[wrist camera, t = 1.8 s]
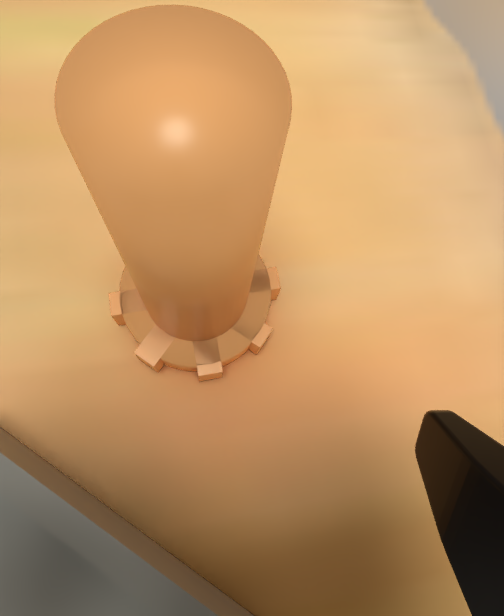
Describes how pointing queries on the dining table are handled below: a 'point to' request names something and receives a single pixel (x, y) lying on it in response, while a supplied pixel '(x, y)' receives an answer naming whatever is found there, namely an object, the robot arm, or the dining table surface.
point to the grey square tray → (84, 553)
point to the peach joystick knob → (181, 175)
